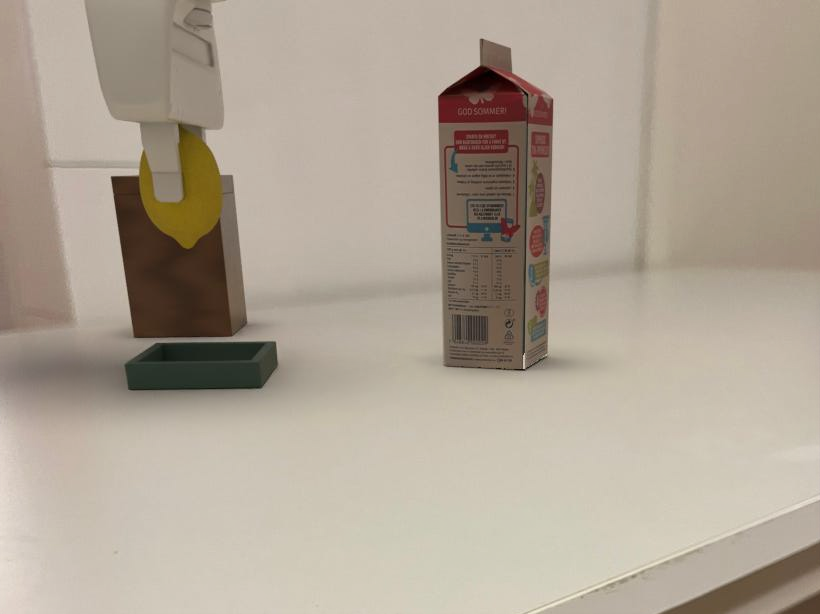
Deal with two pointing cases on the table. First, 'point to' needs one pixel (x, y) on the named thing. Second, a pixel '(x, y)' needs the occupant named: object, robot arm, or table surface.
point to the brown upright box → (180, 270)
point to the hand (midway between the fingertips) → (182, 200)
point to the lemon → (201, 193)
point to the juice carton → (495, 215)
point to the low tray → (202, 365)
